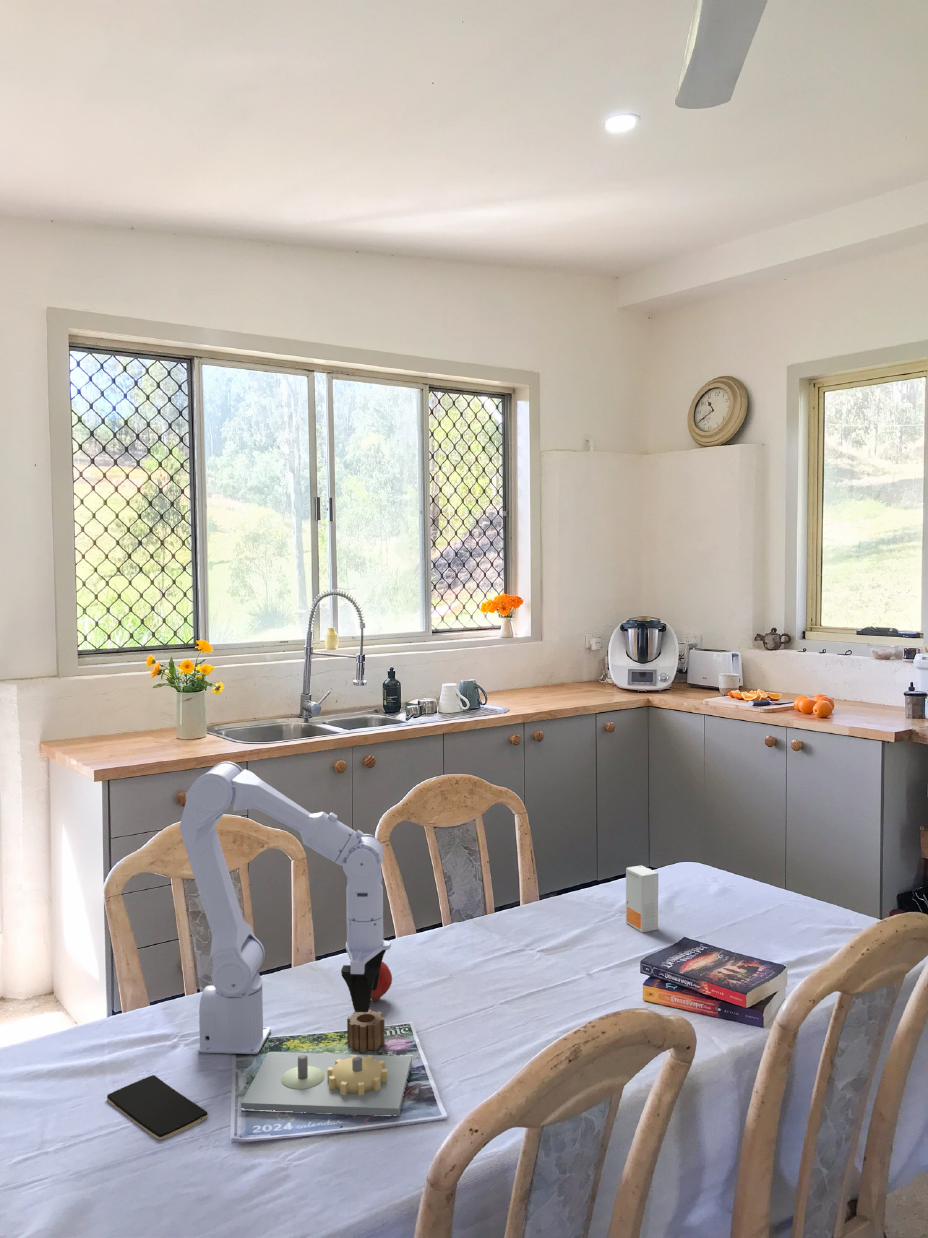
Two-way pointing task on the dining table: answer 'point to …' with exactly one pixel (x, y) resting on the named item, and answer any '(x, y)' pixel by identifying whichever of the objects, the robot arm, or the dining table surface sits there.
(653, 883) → the skincare box
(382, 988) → the onion
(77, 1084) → the dining table surface
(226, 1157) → the dining table surface
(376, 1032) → the walnut gear
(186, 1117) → the smartphone
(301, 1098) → the gear board
